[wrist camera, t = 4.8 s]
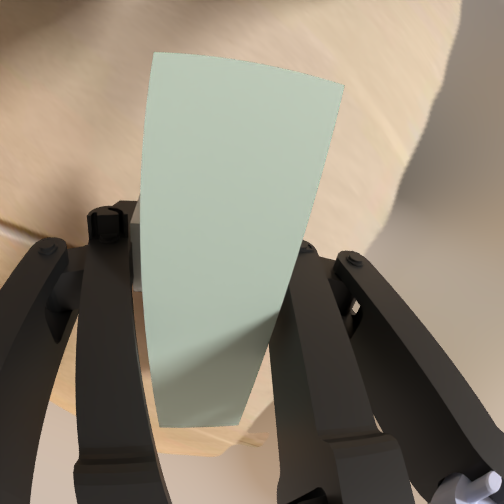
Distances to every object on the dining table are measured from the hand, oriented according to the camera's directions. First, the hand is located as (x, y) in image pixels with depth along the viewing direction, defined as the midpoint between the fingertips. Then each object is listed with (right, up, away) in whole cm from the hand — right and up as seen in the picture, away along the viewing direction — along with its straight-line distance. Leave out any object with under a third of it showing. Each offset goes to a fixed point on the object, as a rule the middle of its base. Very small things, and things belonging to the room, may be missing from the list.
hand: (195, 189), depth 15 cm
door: (0, 0, 0) cm, 0 cm away
